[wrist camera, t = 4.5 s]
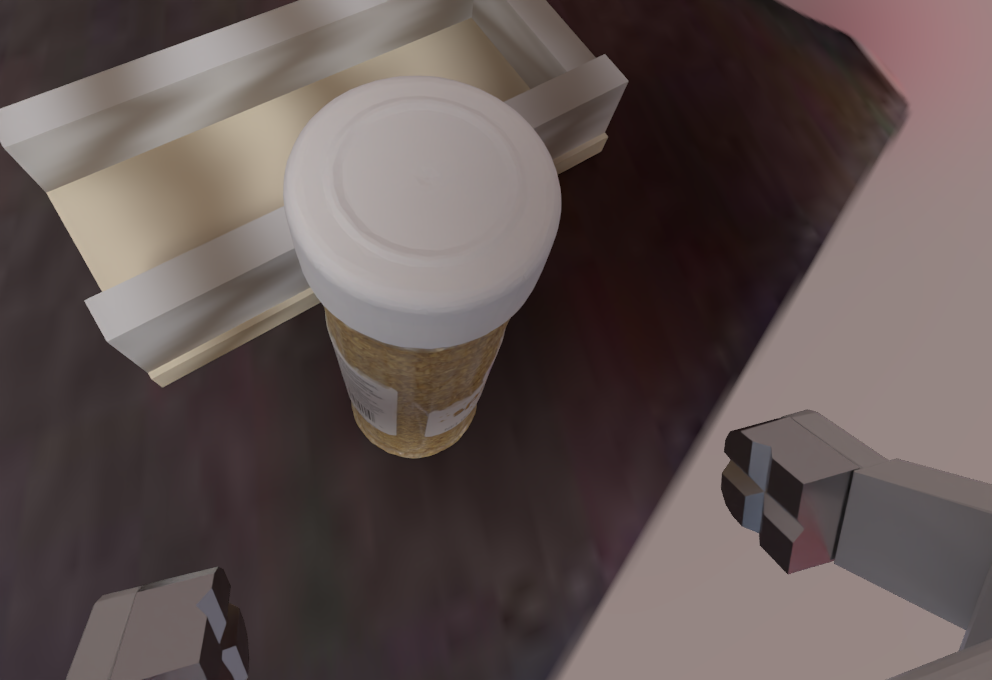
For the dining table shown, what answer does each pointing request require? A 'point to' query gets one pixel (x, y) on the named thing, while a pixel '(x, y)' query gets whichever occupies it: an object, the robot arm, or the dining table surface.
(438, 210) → the sprinkles bottle
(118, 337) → the track
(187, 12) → the dining table surface
